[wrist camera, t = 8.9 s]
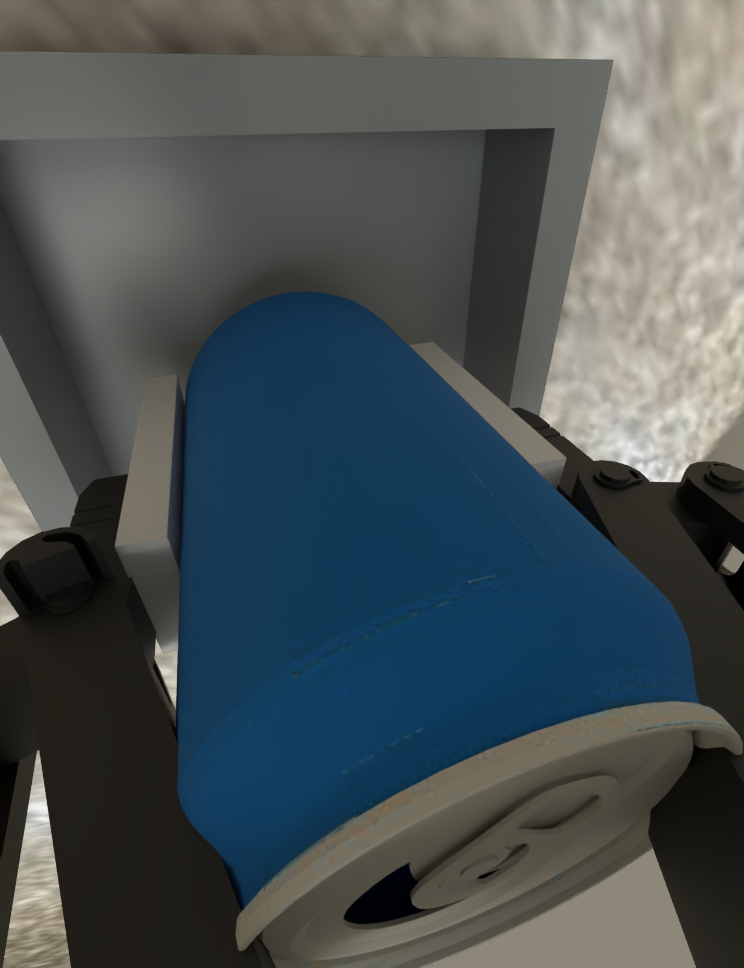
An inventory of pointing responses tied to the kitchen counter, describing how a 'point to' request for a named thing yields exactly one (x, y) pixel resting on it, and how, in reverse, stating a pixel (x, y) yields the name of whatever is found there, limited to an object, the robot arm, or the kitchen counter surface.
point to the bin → (269, 223)
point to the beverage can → (403, 654)
